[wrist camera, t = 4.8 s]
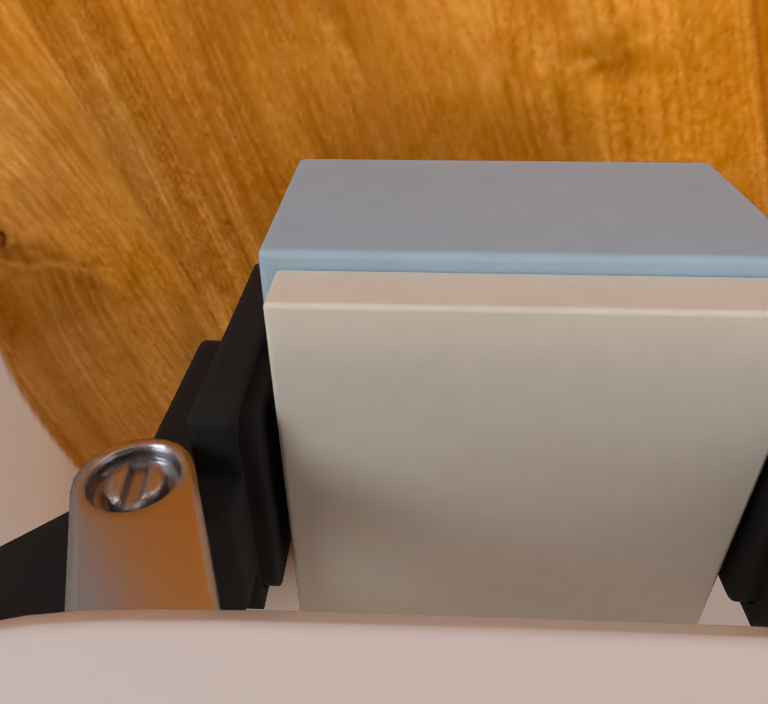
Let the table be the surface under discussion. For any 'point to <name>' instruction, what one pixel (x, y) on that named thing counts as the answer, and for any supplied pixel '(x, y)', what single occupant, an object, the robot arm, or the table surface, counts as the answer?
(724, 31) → the table surface
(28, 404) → the table surface
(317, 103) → the table surface
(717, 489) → the upper pad
